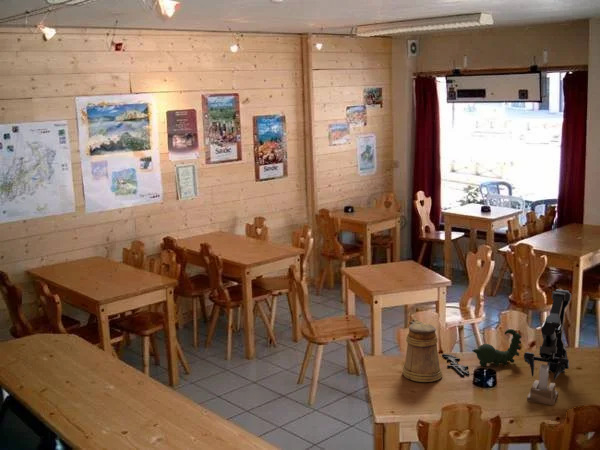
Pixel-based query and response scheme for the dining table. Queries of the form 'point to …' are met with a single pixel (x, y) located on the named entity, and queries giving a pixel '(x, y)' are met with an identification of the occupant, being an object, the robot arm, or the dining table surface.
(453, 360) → the nameplate
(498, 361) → the toy figurine
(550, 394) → the clay rack
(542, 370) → the clay bar
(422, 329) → the tankard
